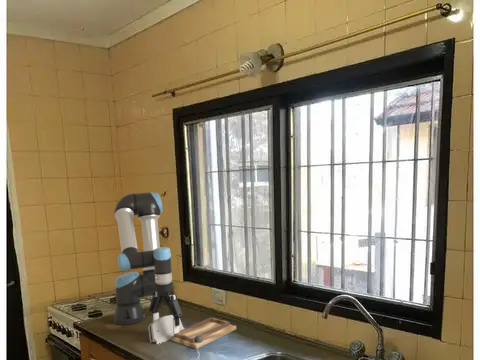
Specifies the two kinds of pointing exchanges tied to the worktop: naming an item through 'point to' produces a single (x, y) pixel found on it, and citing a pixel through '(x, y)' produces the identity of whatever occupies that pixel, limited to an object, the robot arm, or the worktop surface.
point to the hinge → (162, 329)
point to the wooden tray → (203, 332)
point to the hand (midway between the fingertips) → (166, 330)
